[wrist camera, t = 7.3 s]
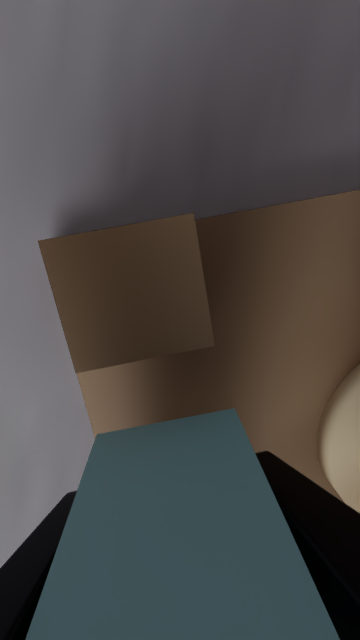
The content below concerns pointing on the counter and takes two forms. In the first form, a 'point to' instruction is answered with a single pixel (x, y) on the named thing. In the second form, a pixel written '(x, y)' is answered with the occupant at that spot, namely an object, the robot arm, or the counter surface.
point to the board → (216, 319)
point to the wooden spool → (342, 439)
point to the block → (178, 544)
